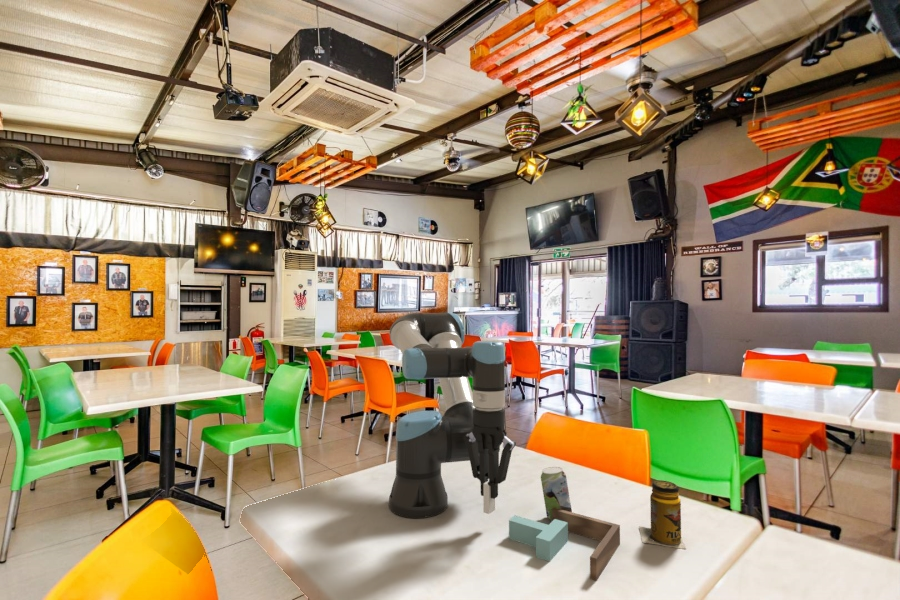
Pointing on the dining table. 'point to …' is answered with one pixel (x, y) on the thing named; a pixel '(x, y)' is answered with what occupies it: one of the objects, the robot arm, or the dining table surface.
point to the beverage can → (555, 490)
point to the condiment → (664, 516)
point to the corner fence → (593, 537)
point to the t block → (540, 535)
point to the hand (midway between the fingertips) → (489, 510)
